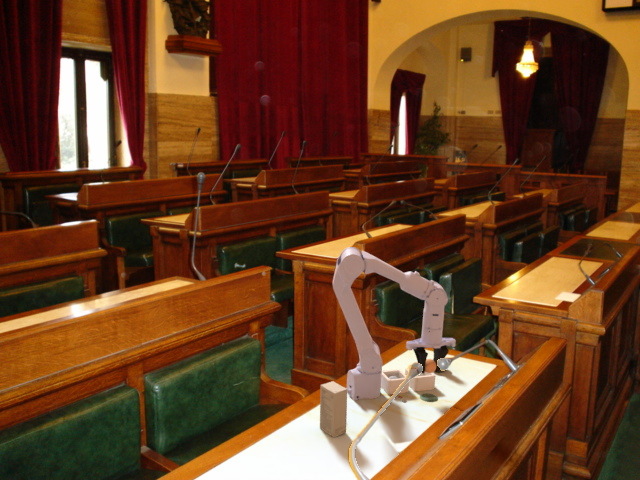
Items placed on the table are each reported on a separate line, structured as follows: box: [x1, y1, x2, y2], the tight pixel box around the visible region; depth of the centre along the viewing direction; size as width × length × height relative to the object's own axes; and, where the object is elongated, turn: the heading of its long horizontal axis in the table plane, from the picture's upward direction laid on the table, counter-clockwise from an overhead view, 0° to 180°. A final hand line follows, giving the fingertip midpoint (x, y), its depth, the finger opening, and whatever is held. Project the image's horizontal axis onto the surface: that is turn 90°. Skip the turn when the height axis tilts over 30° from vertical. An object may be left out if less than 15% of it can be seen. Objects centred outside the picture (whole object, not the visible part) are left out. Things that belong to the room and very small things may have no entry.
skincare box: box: [319, 380, 348, 438], centre depth 161 cm, size 6×4×12 cm
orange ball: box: [425, 358, 436, 373], centre depth 179 cm, size 4×4×4 cm
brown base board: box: [397, 393, 439, 404], centre depth 182 cm, size 16×14×2 cm
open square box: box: [381, 368, 410, 395], centre depth 184 cm, size 7×7×4 cm
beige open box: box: [404, 367, 436, 392], centre depth 186 cm, size 7×7×4 cm
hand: (428, 371), depth 179 cm, fingers closed on orange ball, 4 cm apart
